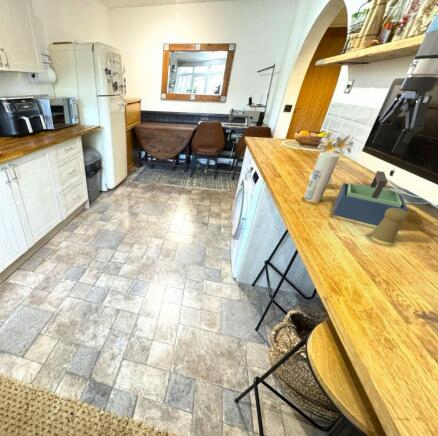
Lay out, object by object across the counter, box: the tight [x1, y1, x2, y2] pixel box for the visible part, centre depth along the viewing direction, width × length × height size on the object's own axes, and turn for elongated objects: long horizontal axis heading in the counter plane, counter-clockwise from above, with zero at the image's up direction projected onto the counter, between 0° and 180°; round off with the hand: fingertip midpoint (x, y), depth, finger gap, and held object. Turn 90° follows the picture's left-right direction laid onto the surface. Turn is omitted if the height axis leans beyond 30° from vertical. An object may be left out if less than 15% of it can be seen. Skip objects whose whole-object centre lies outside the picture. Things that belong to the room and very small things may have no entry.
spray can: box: [303, 151, 340, 203], centre depth 98 cm, size 6×6×20 cm
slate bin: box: [332, 182, 409, 227], centre depth 90 cm, size 18×16×9 cm
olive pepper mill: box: [370, 208, 409, 244], centre depth 75 cm, size 6×6×11 cm
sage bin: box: [345, 170, 402, 207], centre depth 88 cm, size 14×12×15 cm
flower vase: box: [308, 131, 355, 187], centre depth 110 cm, size 13×18×25 cm
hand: (386, 147), depth 82 cm, fingers open, 13 cm apart
